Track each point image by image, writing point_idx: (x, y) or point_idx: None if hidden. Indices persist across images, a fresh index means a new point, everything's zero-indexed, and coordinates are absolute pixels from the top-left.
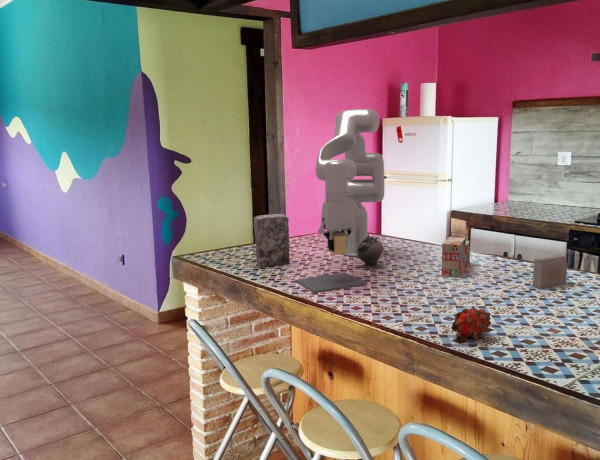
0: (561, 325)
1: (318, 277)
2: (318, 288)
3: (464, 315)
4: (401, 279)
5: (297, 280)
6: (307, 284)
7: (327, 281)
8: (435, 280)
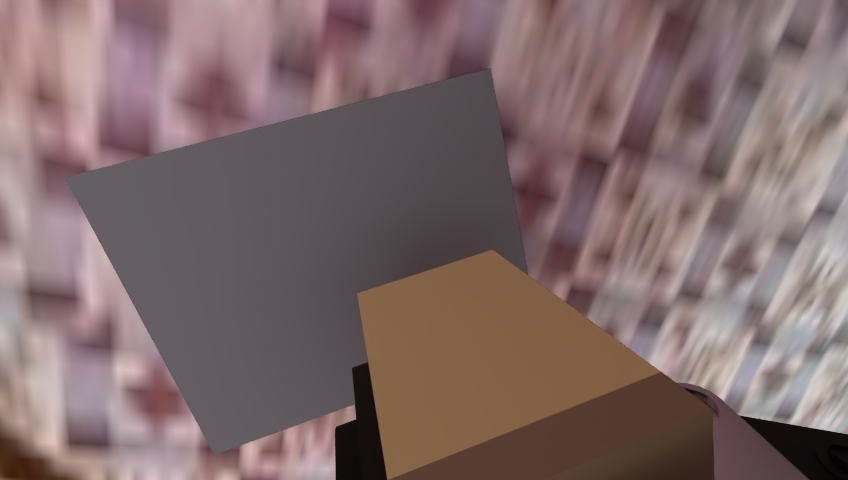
0: None
1: (271, 151)
2: (247, 406)
3: None
4: (718, 265)
5: (87, 199)
6: (174, 315)
7: (325, 269)
8: (823, 307)
